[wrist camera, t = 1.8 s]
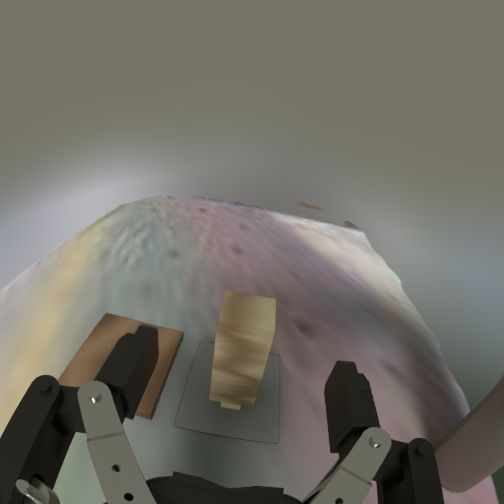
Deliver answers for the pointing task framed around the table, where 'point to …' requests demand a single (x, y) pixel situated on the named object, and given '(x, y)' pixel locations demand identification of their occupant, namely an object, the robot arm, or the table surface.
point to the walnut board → (100, 348)
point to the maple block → (241, 347)
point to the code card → (230, 415)
